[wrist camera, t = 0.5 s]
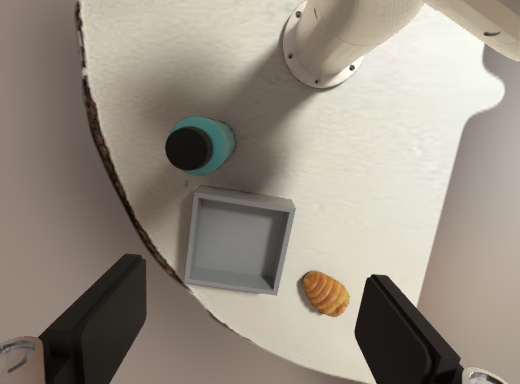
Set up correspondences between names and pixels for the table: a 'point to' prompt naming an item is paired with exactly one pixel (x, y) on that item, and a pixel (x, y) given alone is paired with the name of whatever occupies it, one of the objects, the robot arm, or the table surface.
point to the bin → (238, 240)
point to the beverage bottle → (199, 145)
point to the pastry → (325, 293)
